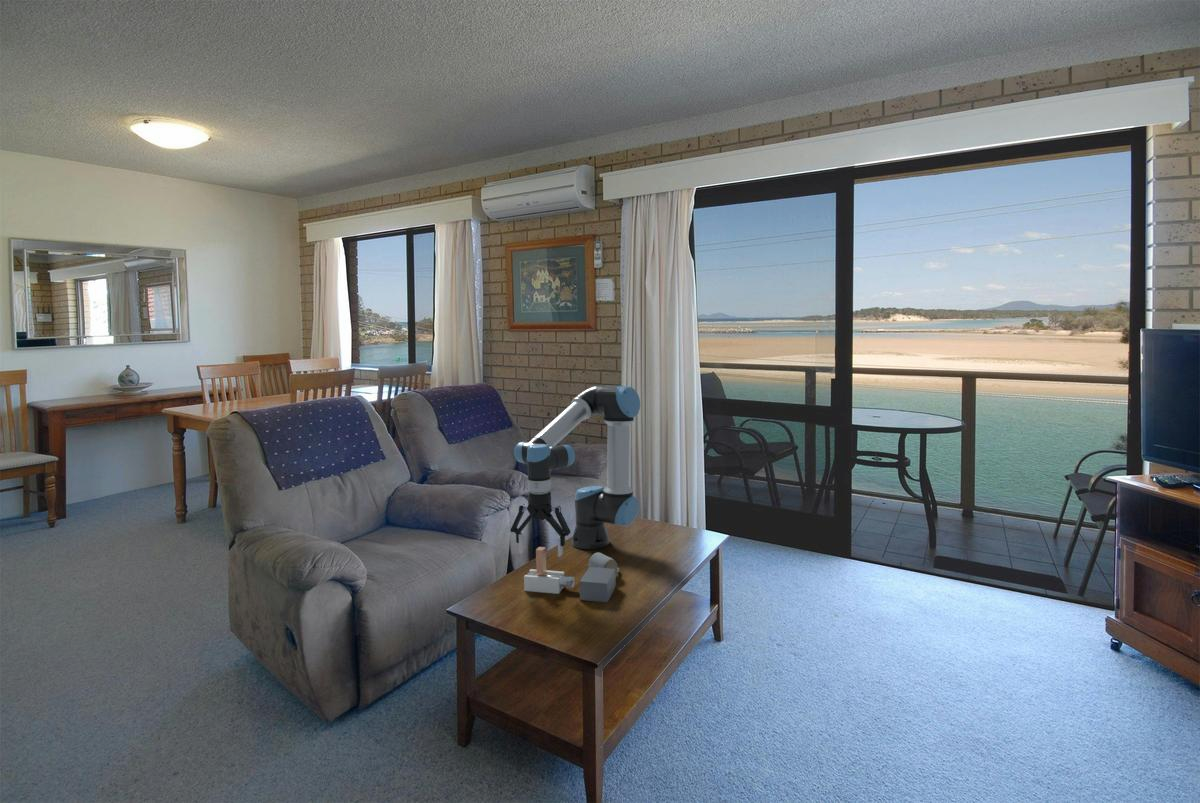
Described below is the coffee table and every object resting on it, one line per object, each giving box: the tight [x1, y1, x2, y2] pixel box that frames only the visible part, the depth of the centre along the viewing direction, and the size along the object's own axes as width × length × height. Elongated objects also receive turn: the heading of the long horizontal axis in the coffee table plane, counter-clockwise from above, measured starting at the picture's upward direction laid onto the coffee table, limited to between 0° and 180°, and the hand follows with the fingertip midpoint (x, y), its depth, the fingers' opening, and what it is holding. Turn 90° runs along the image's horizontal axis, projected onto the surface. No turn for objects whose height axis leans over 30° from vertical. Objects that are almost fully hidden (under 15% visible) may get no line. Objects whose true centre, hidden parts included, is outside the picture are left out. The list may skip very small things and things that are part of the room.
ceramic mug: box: [587, 552, 620, 575], centre depth 216 cm, size 11×8×8 cm
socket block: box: [579, 567, 617, 603], centre depth 201 cm, size 12×9×6 cm
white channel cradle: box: [523, 568, 565, 595], centre depth 205 cm, size 6×12×5 cm, turn 76°
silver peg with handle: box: [526, 546, 575, 588], centre depth 204 cm, size 3×16×12 cm, turn 77°
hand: (540, 553), depth 204 cm, fingers open, 13 cm apart
